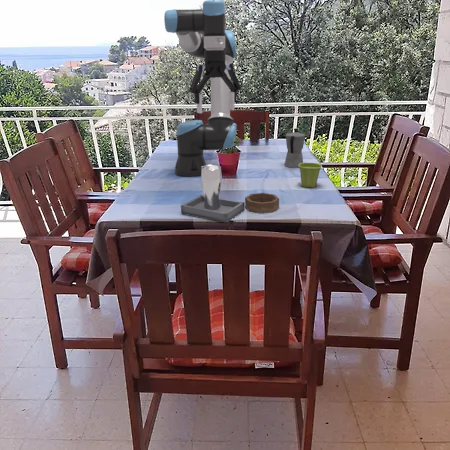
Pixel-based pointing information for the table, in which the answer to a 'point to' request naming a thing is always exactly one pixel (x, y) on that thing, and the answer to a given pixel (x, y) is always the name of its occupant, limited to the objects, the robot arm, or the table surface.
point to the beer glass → (211, 186)
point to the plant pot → (309, 174)
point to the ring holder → (262, 202)
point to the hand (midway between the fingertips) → (216, 111)
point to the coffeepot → (294, 149)
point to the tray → (223, 215)
